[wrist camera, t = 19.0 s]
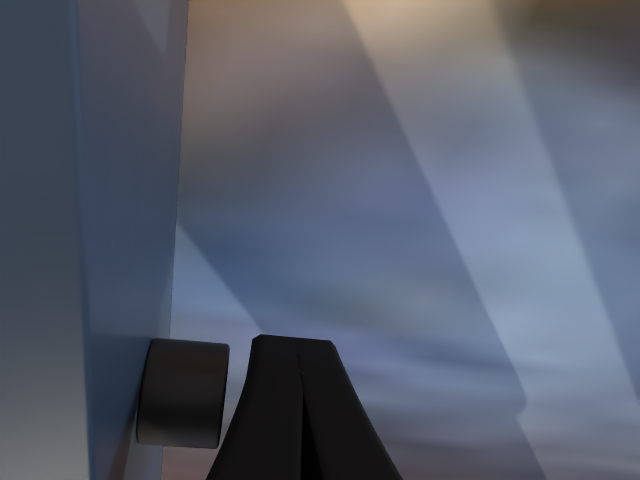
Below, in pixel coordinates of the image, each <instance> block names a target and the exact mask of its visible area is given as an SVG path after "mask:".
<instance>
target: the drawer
mask: <svg viewBox="0 0 640 480" xmlns="http://www.w3.org/2000/svg"><path fill="white" fill-rule="evenodd" d="M188 6H189V0H0V480H161V473H162V456H163V446H173V447H190V448H207V449H216V448H218V446H219V441H220V434H221V427H222V419H223V410H224V402H225V393H226V383H227V374H228V363H229V351H230V348H229V345H228V344H222V343H211V342H199V341H188V340H176V339H169V335H170V317H171V300H172V283H173V265H174V248H175V231H176V214H177V196H178V179H179V162H180V144H181V127H182V110H183V93H184V75H185V58H186V41H187V23H188Z"/></svg>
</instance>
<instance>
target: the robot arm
mask: <svg viewBox="0 0 640 480" xmlns="http://www.w3.org/2000/svg"><path fill="white" fill-rule="evenodd" d="M206 480H403V479H402V477H401V475H400V474H399V472H398V470H397V469H396V467H395V465H394V464H393V462H392V460H391V458H390V456H389V455H388V453H387V451H386V449H385V447H384V446H383V444H382V442H381V440H380V438H379V437H378V435H377V433H376V431H375V429H374V428H373V426H372V424H371V422H370V420H369V418H368V416H367V414H366V412H365V410H364V408H363V406H362V404H361V402H360V400H359V398H358V396H357V394H356V392H355V390H354V388H353V386H352V384H351V381H350V379H349V377H348V375H347V373H346V371H345V368H344V366H343V364H342V361H341V359H340V357H339V354H338V352H337V349H336V347H335V346H334V344H333V343H332V342H331V341H328V340H317V339H306V338H295V337H284V336H273V335H263V334H260V335H259V336H257V337H255V338H253V339H252V345H251V352H250V358H249V364H248V370H247V376H246V380H245V384H244V387H243V390H242V393H241V396H240V399H239V402H238V405H237V408H236V410H235V413H234V415H233V418H232V420H231V423H230V426H229V428H228V431H227V433H226V436H225V438H224V441H223V443H222V446H221V448H220V450H219V452H218V455H217V457H216V459H215V461H214V463H213V465H212V467H211V469H210V472H209V474H208V476H207V478H206Z"/></svg>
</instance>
